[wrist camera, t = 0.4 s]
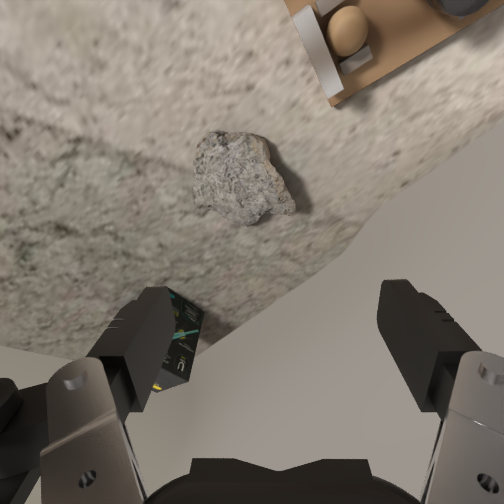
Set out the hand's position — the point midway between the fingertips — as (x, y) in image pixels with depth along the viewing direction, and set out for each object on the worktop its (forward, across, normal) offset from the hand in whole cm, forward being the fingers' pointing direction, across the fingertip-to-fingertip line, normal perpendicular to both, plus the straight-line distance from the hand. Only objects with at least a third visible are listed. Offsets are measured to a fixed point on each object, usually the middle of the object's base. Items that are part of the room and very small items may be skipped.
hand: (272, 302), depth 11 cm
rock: (+31, +3, +2) cm, 32 cm away
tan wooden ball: (+25, -8, -13) cm, 29 cm away
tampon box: (+40, +21, +28) cm, 53 cm away
